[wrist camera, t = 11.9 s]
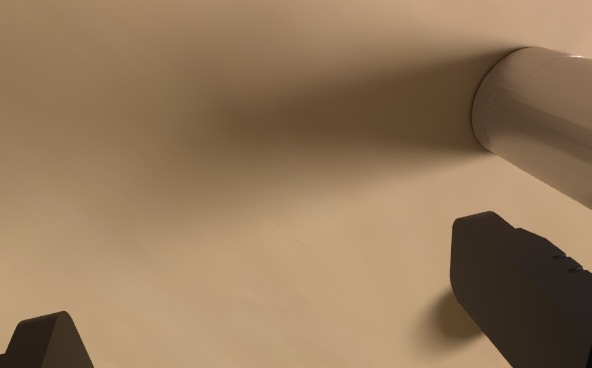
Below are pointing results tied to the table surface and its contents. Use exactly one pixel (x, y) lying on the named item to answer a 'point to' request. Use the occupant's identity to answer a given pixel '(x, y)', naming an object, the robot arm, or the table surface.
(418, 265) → the table surface
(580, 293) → the robot arm
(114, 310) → the table surface
